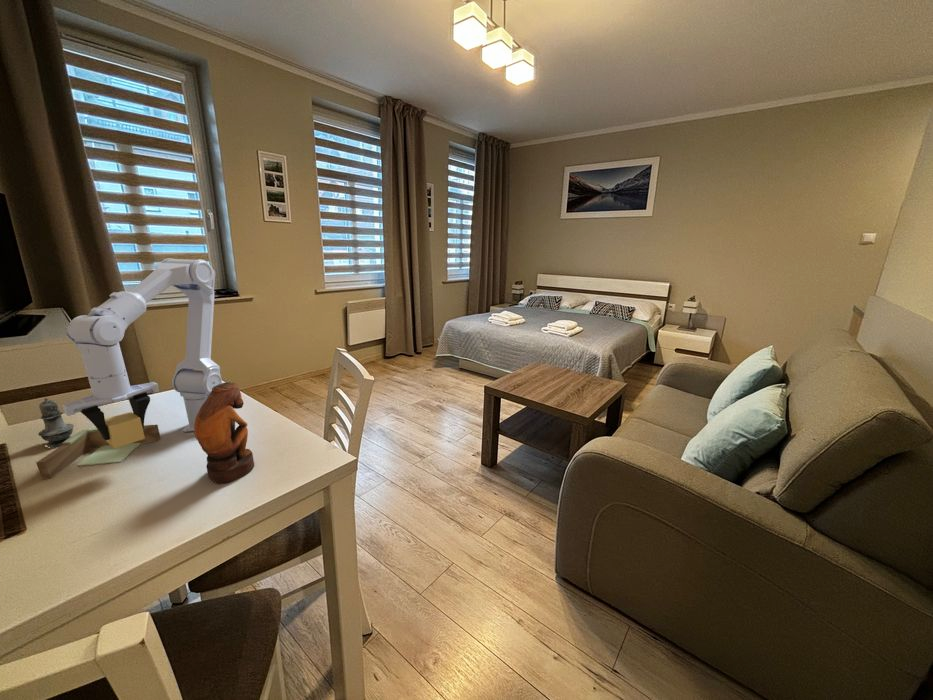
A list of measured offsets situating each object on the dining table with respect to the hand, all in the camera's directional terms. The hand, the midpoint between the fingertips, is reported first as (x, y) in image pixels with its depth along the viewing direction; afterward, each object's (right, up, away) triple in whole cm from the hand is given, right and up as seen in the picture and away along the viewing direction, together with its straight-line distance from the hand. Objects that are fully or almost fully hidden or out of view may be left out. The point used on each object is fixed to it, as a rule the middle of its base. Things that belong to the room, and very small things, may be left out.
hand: (123, 432), depth 79 cm
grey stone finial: (-26, -5, +11) cm, 29 cm away
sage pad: (-10, -7, +7) cm, 14 cm away
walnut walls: (-10, -7, +6) cm, 13 cm away
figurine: (+21, -9, +3) cm, 23 cm away
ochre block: (0, -2, 0) cm, 2 cm away
